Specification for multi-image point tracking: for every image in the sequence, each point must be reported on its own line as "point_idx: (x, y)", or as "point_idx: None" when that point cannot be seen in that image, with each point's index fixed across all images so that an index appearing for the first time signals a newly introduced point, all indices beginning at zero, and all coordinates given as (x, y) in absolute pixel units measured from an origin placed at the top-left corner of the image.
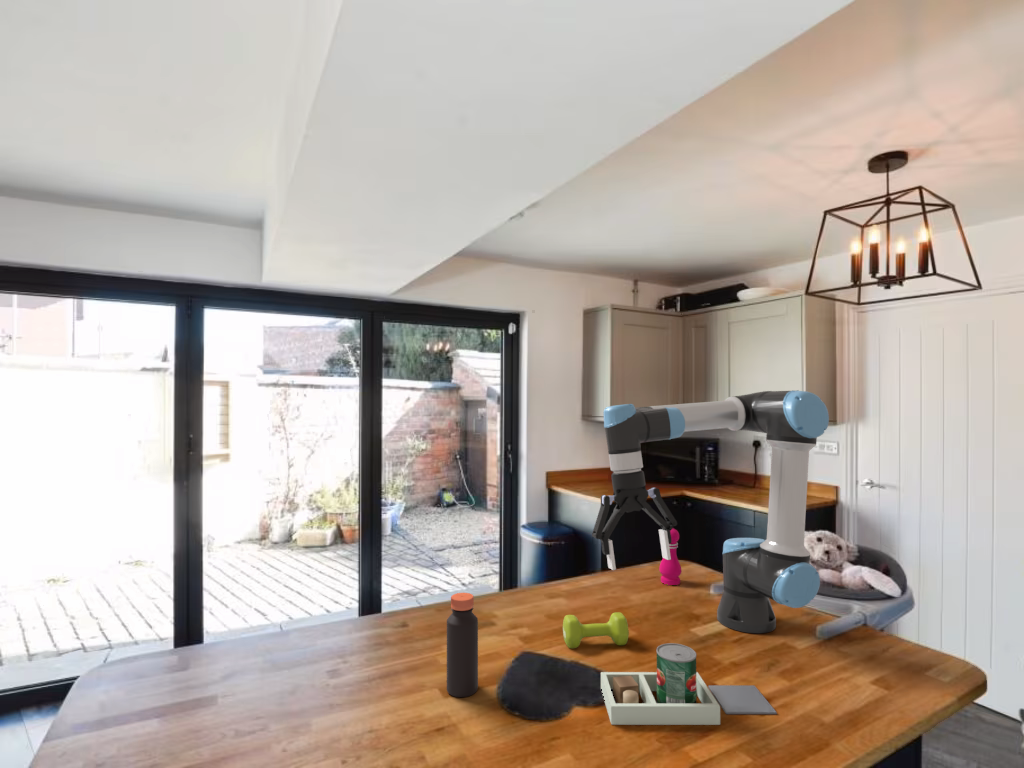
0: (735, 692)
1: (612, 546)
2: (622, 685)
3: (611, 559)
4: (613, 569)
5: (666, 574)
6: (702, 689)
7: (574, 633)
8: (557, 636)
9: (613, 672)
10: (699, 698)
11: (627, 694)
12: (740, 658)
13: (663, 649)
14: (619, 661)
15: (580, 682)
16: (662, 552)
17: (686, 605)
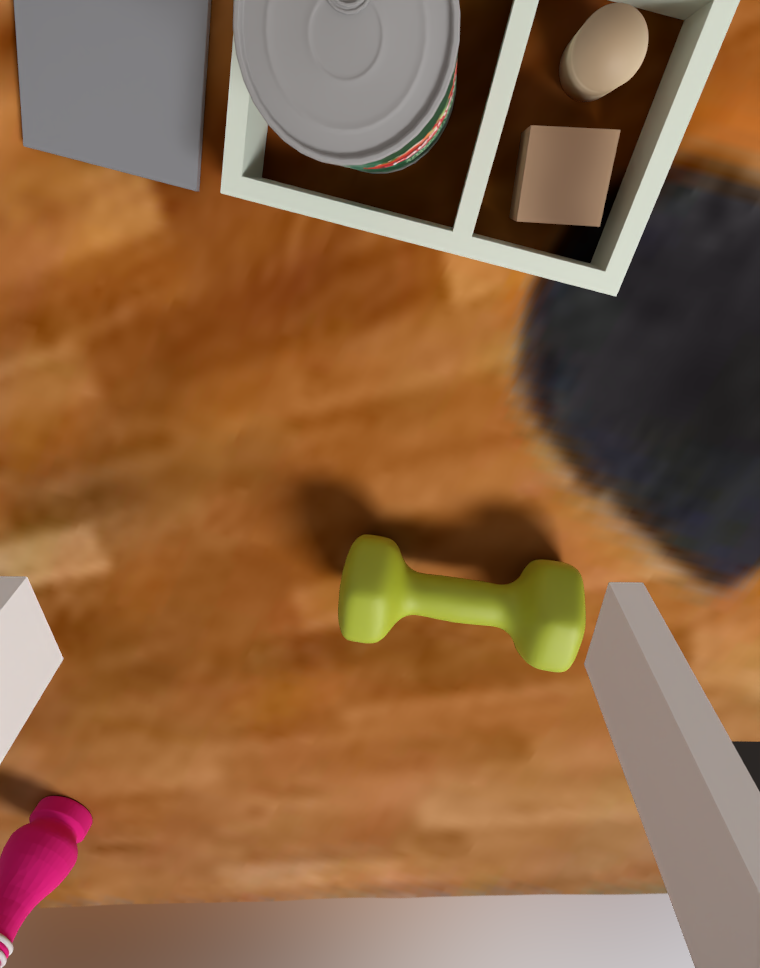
0: (114, 112)
1: (732, 829)
2: (599, 144)
3: (691, 670)
4: (638, 585)
5: (63, 836)
6: None
7: (565, 580)
8: None
9: (566, 279)
10: None
11: (628, 46)
12: (8, 356)
13: (395, 104)
14: (435, 445)
15: (649, 346)
16: (31, 692)
17: (66, 695)
